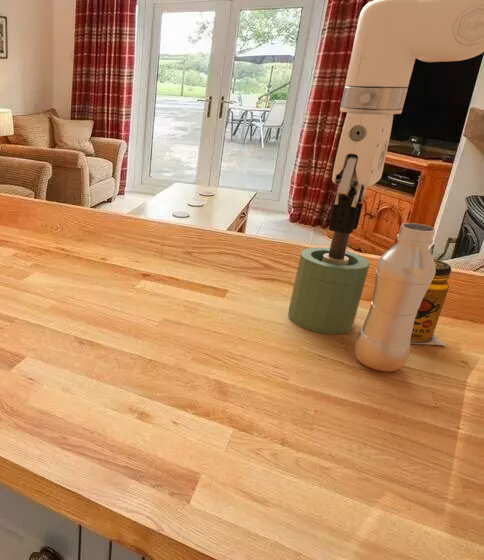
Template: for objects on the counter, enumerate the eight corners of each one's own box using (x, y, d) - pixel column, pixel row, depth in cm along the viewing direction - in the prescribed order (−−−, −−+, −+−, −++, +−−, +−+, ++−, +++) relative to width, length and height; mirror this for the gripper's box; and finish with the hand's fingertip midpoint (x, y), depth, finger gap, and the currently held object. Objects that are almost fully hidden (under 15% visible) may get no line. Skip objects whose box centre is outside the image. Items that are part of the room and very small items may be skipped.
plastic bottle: (410, 365, 68) (456, 228, 61) (393, 383, 64) (440, 238, 56) (361, 347, 73) (398, 216, 65) (342, 363, 69) (379, 225, 61)
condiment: (394, 342, 74) (417, 269, 70) (370, 317, 82) (390, 249, 77) (446, 346, 73) (472, 272, 69) (417, 320, 81) (439, 252, 77)
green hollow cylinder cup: (358, 318, 81) (375, 256, 77) (343, 340, 75) (361, 274, 70) (298, 302, 87) (311, 243, 83) (279, 321, 80) (292, 258, 76)
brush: (344, 285, 79) (367, 193, 73) (338, 292, 76) (361, 197, 70) (320, 280, 81) (340, 189, 75) (314, 286, 78) (334, 193, 72)
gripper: (393, 104, 60) (357, 247, 67) (413, 100, 71) (380, 223, 78) (327, 102, 64) (300, 236, 71) (355, 98, 75) (330, 214, 83)
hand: (342, 228), depth 75 cm, fingers closed on brush, 2 cm apart
